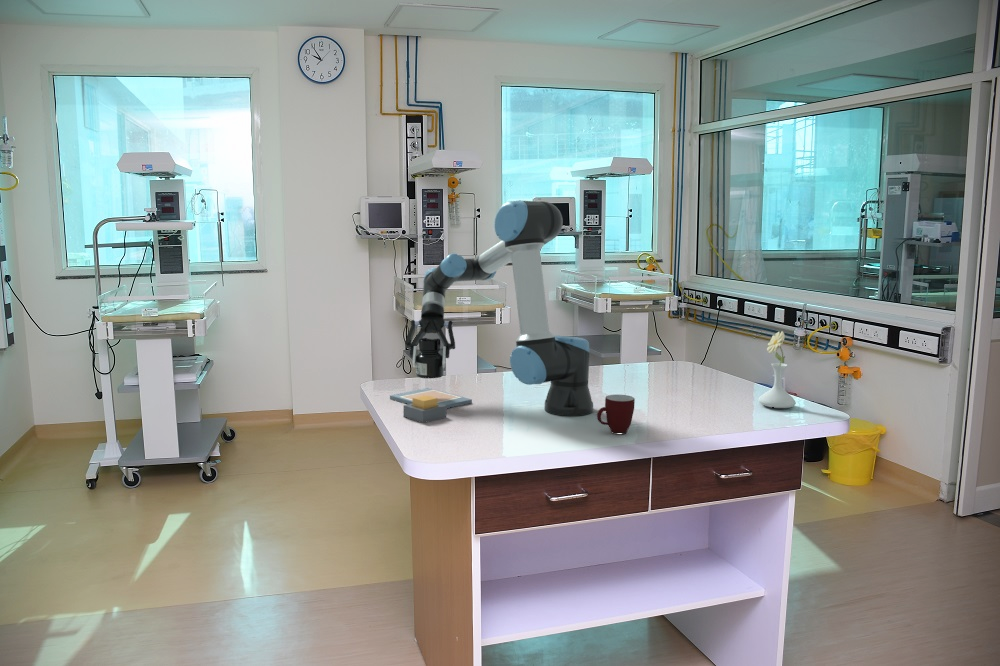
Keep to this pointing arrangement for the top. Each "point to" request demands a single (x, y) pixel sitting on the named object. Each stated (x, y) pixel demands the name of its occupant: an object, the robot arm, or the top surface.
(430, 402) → the button
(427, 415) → the button housing
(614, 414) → the mug
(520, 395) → the top surface
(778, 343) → the flower in vase
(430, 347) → the ink bottle
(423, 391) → the picture board
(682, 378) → the top surface
